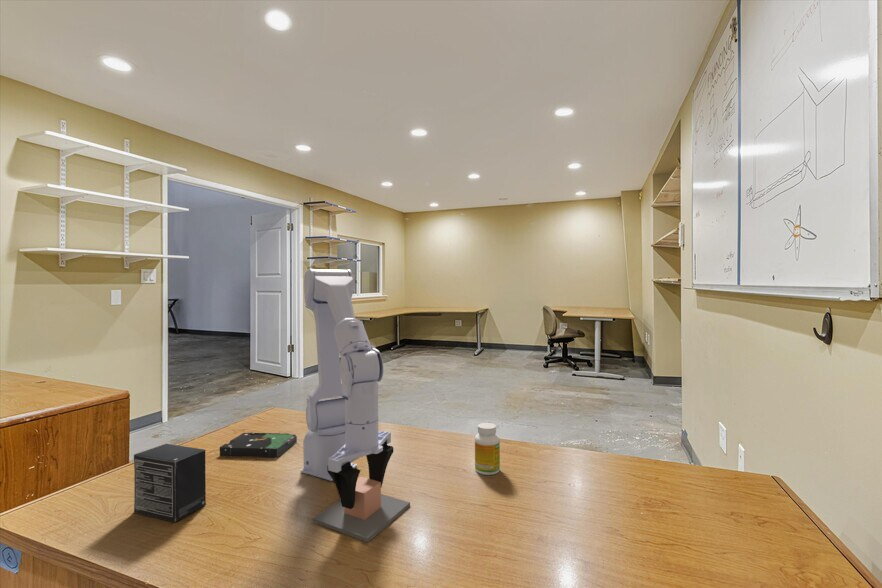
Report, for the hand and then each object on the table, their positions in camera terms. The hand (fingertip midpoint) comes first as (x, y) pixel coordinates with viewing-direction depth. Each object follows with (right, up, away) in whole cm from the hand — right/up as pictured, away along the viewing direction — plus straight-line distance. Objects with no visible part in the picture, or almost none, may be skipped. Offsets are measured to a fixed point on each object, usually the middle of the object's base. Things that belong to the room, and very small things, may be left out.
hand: (362, 496), depth 70 cm
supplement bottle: (+24, -3, +17) cm, 29 cm away
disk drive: (-32, -4, +30) cm, 44 cm away
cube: (0, -2, 0) cm, 2 cm away
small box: (-35, -4, +2) cm, 35 cm away
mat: (0, -3, 0) cm, 3 cm away
